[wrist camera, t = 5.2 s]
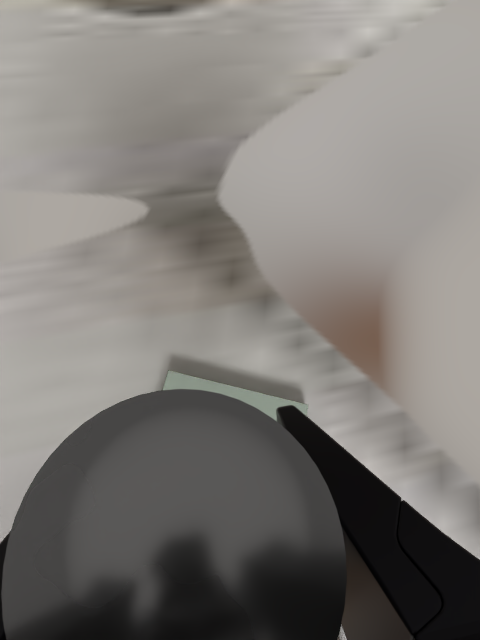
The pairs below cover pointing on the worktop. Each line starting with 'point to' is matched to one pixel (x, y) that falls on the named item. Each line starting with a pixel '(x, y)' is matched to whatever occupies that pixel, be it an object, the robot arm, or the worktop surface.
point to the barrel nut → (176, 530)
